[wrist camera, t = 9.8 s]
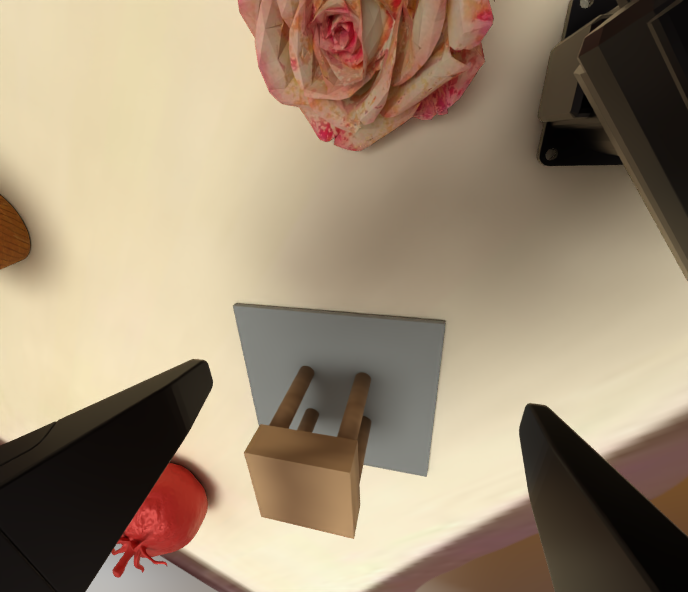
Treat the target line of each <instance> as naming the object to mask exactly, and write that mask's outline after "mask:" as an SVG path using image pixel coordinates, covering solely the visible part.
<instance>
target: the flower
mask: <svg viewBox="0 0 688 592" xmlns="http://www.w3.org/2000/svg"><path fill="white" fill-rule="evenodd" d="M494 1H495V0H494ZM238 5H239V12H240V14H241V15H242V17H243V19H244V21H245V22H246V24H247V26H248V27H249V29H250V31H251V33H252V34H253V36H254V37H255V47H256V54H257V60H258V67H259V69H260V72H261V74H262V76H263V78H264V81H265V83H266V85H267V88H268V90H269V92H270V93H271V95H272V96H273V97H274V98H275V99H276V100H277V101H279V102H280V103H282V104H285V105H290V106H296V107H299V108H300V109H301V111H302V112H303V114H304V115H305V117H306V118H307V120H308V121H309V123H310V124H311V126H312V128H313V130H314V131H315V133H316V135H317V136H318V137H319V139H320V140H322V141H325V142H327V141H330V140H332V139H333V138H334V137H335V141H334V145H336V146H338V147H341V148H344V149H347V150H353V151H361V150H363V149H365V148H366V147H368V146H370V145H371V144H373V143H374V142H376V141H378V140H379V139H381V138H382V137H384V136H385V135H387V134H388V133H390V132H392V131H393V130H395V129H396V128H398V127H399V126H400V125H402V124H404V123H405V122H406V121H407V120H409V119H410V118H411V117H412V116H413V117H415V118H418V119H421V120H431V119H432V118H433V116H434V115H436V114H439V115H444V114H448V108H449V107H450V106H452V105H453V104H454V103H455V102H456V101H457V100H458V99H459V98H460V97H461V96H462V95H463V93H464V91H465V90H466V88H467V87H468V85H469V84H470V82H471V81H472V80H473V78H474V77H475V75H476V74H477V72H478V70H479V68H480V67H481V66H482V65H483V63H484V62H485V59H484V54H483V49H482V44H481V40H482V39H483V37H484V36H485V35H486V33H487V32H488V30H489V29H490V27H491V26H492V24H493V19H494V18H493V15H492V11H491V7H490V3H489V0H238ZM442 110H443V111H442ZM370 139H372V140H370ZM360 146H361V147H360Z"/></svg>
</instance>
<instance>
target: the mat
mask: <svg viewBox="0 0 688 592" xmlns="http://www.w3.org/2000/svg"><path fill="white" fill-rule="evenodd" d="M233 309H234V313H235V318H236V322H237V327H238V332H239V336H240V341H241V345H242V350H243V355H244V359H245V364H246V368H247V373H248V378H249V382H250V387H251V392H252V396H253V401H254V405H255V410H256V415H257V419H258V424H259V426H260V424H263V425H269V424H270V423H271V421H272V419H273V417H274V415H275V413H276V412H277V410H278V408H279V406H280V404H281V402H282V401H283V399H284V397H285V395H286V393H287V391H288V390H289V388H290V386H291V384H292V382H293V380H294V379H295V377H296V375H297V373H298V371H299V370H300V368H301V367H302V366H309V367H311V368H312V369H313V370H314V376H313V378H312V381H311V383H310V385H309V387H308V389H307V391H306V393H305V395H304V397H303V400H302V402H301V404H300V406H299V408H298V410H297V412H296V414H295V416H294V418H293V421H292V423H291V425H290V427H289V429H293V430H297V429H298V426H299V424H300V422H301V420H302V417H303V415H304V413H305V411H306V409H308V408H312V409H315V410H316V411H317V412H318V413H319V417H318V420H317V422H316V425H315V427H314V430H313V432H312V433H317V434H323V435H329V436H335V437H337V435H338V432H339V428H340V425H341V422H342V419H343V415H344V412H345V409H346V405H347V402H348V399H349V395H350V392H351V389H352V386H353V382H354V379H355V376H356V374H358V373H360V372H363V373H366V374H368V375H369V376H370V378H371V383H370V387H369V391H368V395H367V400H366V404H365V408H364V412H363V416H366V417H368V418H369V419H370V420H371V428H370V433H369V438H368V443H367V448H366V453H365V458H364V463H363V465H367V466H373V467H378V468H383V469H388V470H394V471H399V472H404V473H409V474H415V475H420V476H425V477H427V471H428V463H429V455H430V446H431V438H432V430H433V422H434V414H435V405H436V397H437V389H438V381H439V373H440V364H441V356H442V348H443V340H444V332H445V321H439V320H427V319H416V318H404V317H392V316H380V315H368V314H356V313H345V312H333V311H321V310H309V309H297V308H285V307H274V306H262V305H250V304H238V303H236V304H234V305H233Z"/></svg>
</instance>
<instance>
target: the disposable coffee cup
mask: <svg viewBox="0 0 688 592" xmlns="http://www.w3.org/2000/svg"><path fill="white" fill-rule="evenodd" d="M29 251H30V239H29V235H28V232H27V229H26V227H25V225H24V223H23V221H22V219H21V218H20V216H19V215H18V213H17V212H16V211H15V209H14V208H13V207H12V206H11V205H10V204H9V203H8V202H7V201H6V200H5V199H4V198H3V197H2V196H1V195H0V270H1V269H3V268H5V267H7V266H10V265H12V264H14V263H16V262H19V261H21V260H23V259H25V258H26V257H27V255H28V254H29Z"/></svg>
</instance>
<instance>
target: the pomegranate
mask: <svg viewBox="0 0 688 592" xmlns="http://www.w3.org/2000/svg"><path fill="white" fill-rule="evenodd" d="M207 508H208V502H207V497H206V493H205V490H204V488H203V486H202V485H201V484H200V483H199V481H198V480H197V479H196V478H195V477H194V475H193V474H192V473H191V472H190V471H189V470H187V469H186V468H184V467H182V466H180V465H176V464H172V463H169V464H168V465H167V467H166V468H165V470H164V471H163V473H162V474H161V476H160V478H159V479H158V481H157V482H156V484H155V485H154V487H153V488H152V490H151V491H150V493H149V495H148V496H147V498H146V499H145V501H144V502H143V504H142V505H141V507H140V508H139V510H138V511H137V513H136V515H135V516H134V518H133V519H132V521H131V522H130V524H129V525H128V527H127V528H126V530H125V532H124V533H123V535H122V536H121V538H120V539H119V541H118V542H117V544H122V545H123V546H122V547H121V548H120V549H119V550H117V551H115V549H114V548H113V550H112V554H113V555H116V554H118V553H123V552H125V553H124V555H123V556H122V558H121V559H120V560H119V562H118V563H117V565H116V566H115V567H114V569H113V574H114V576H115V577H120V576H121V575H122V574H123V572H124V570H125V567H126V565H127V563H128V561H129V560H130V558H131V557H132V556H133V555H134V566H135V567H136V568H138V569H140V570H142V572H143V571H144V567H143V566H142V565H140V564H139V561H140V557H142V558H148V559H149V560H151V561H152V562H153V563H154V564H165V565H167V563H166V562H163V561H155V560H153V559H152V558H151V557H154V556H158V555H161V554H167V553H171V552H174V551H176V550H179V549H181V548H183V547H184V546H185V545H187V544H188V543H189V542H190V541H191V540H192V539H193V538H194V536H195V535H196V533H197V532H198V530H199V528H200V526H201V524H202V522H203V520H204V518H205V515H206V513H207Z"/></svg>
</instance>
